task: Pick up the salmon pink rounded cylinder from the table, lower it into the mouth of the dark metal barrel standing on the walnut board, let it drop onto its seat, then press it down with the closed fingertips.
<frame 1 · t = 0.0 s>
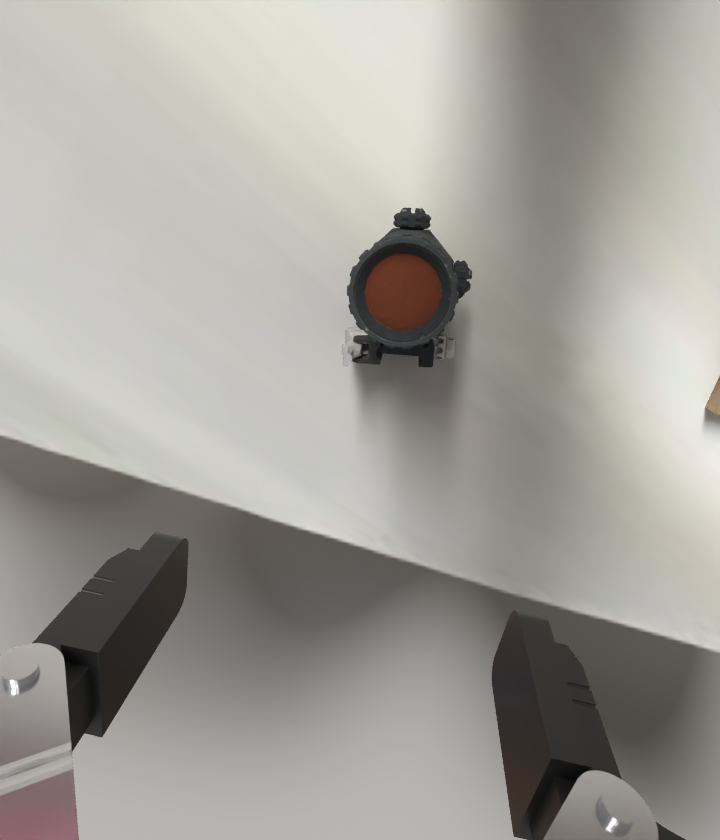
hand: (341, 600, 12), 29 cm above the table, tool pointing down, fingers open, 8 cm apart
scope: (407, 281, 38), on the table
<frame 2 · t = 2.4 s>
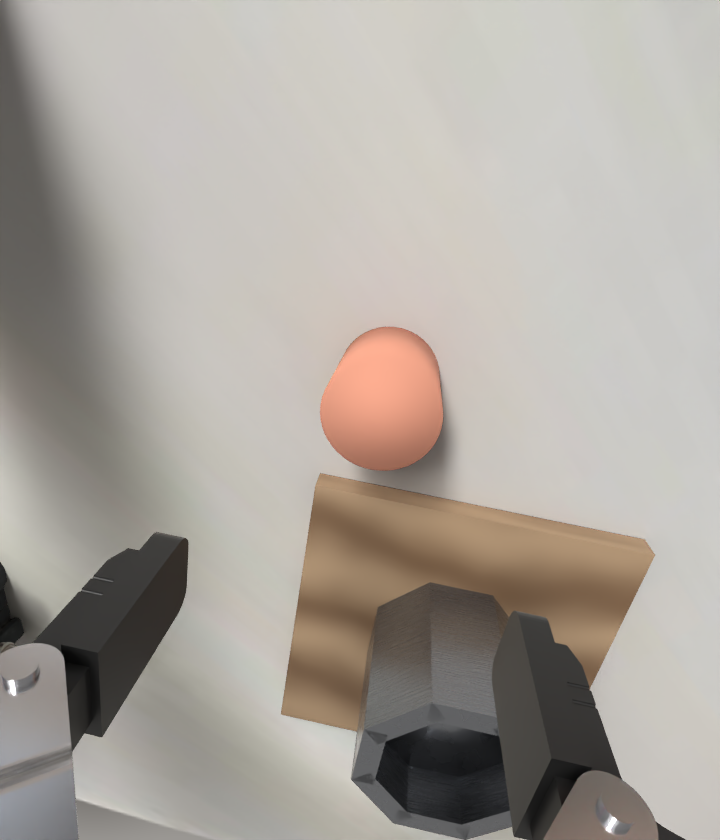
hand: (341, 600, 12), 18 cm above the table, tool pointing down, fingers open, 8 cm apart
walnut board: (443, 627, 35), on the table
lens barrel: (446, 702, 30), on the walnut board, point 6 cm above the table
salmon pink rounded cylinder: (389, 376, 29), on the table
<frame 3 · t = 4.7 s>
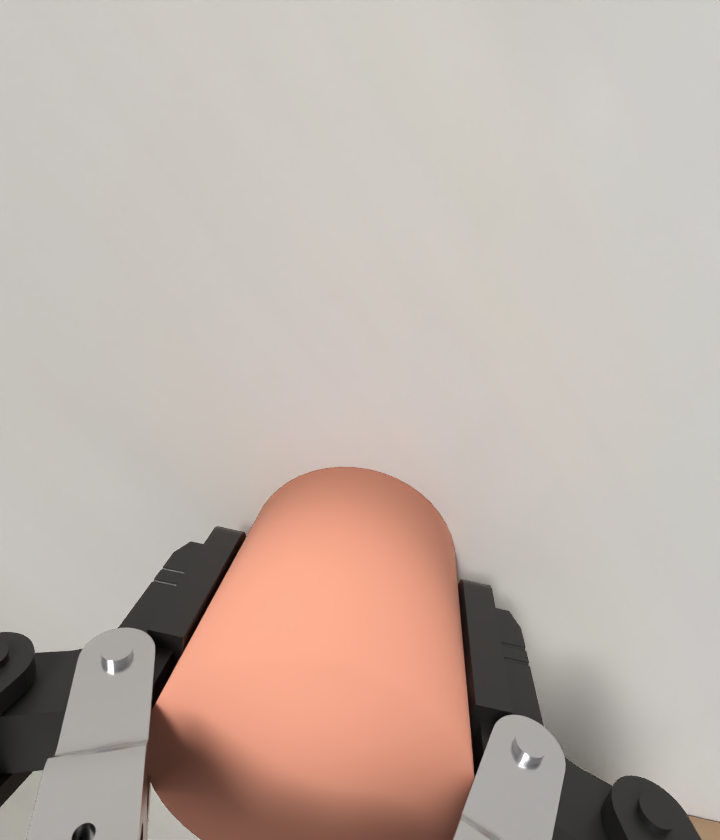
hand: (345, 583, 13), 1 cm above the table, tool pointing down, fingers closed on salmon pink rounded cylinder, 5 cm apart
salmon pink rounded cylinder: (351, 558, 14), on the table, touching gripper
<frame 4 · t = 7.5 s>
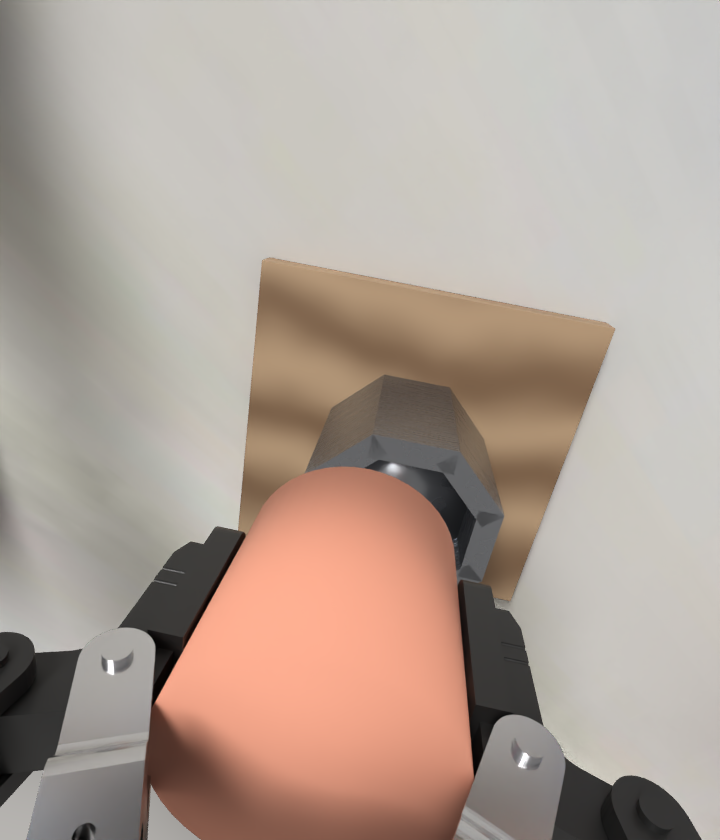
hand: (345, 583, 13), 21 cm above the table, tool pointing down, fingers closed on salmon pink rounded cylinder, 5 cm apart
walnut board: (401, 440, 34), on the table
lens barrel: (398, 484, 29), on the walnut board, point 6 cm above the table
salmon pink rounded cylinder: (351, 557, 14), point 19 cm above the table, touching gripper
when the fingers open (10 cm above the table, at t = 10.6 s): salmon pink rounded cylinder drops 2 cm, resting on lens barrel.
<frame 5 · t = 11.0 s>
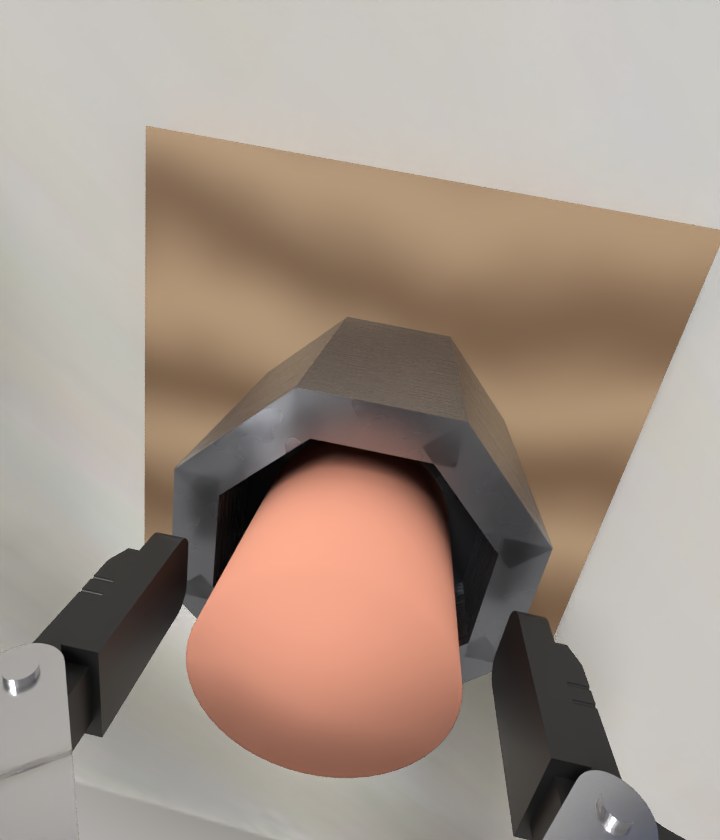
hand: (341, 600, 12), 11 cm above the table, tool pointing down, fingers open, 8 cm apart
walnut board: (379, 425, 23), on the table
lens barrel: (365, 490, 17), on the walnut board, point 6 cm above the table
salmon pink rounded cylinder: (356, 518, 16), point 8 cm above the table, touching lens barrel
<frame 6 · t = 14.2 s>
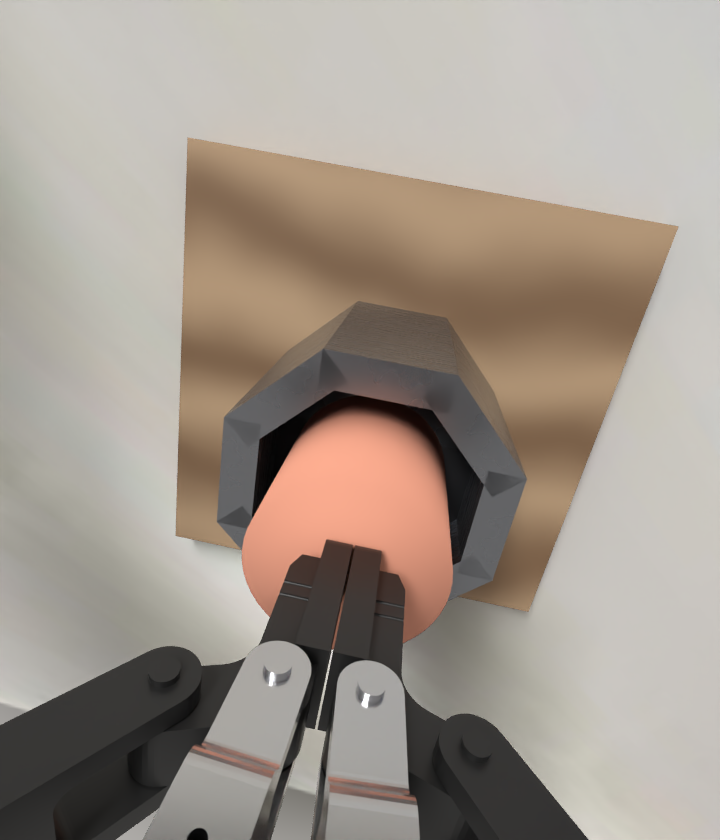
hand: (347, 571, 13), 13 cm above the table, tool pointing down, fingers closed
walnut board: (384, 398, 26), on the table
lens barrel: (374, 446, 21), on the walnut board, point 6 cm above the table
salmon pink rounded cylinder: (368, 466, 19), point 7 cm above the table, touching gripper, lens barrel
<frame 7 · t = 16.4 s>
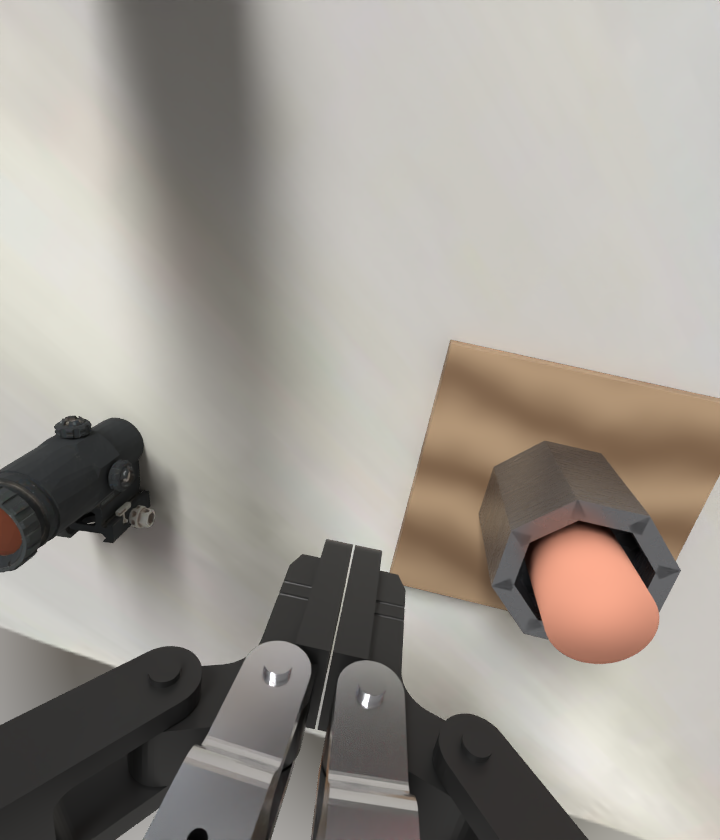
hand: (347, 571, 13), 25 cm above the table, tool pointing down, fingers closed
scope: (121, 451, 43), on the table
walnut board: (546, 495, 39), on the table
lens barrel: (564, 537, 34), on the walnut board, point 6 cm above the table
salmon pink rounded cylinder: (570, 553, 32), point 7 cm above the table, touching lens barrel
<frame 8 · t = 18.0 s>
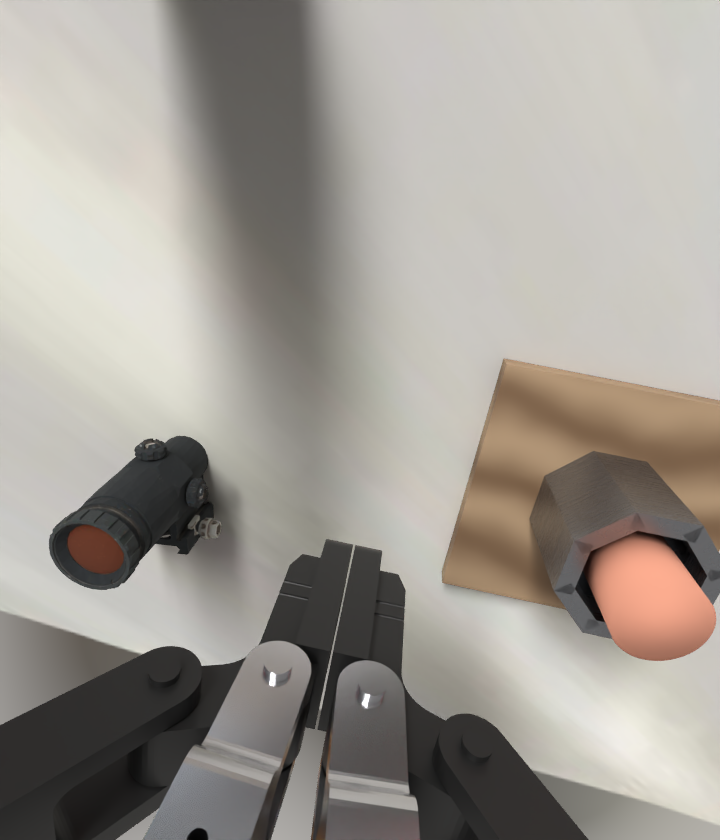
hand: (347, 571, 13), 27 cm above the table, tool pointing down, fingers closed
scope: (186, 467, 45), on the table
walnut board: (591, 500, 41), on the table
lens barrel: (616, 542, 36), on the walnut board, point 6 cm above the table
salmon pink rounded cylinder: (624, 557, 35), point 7 cm above the table, touching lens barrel
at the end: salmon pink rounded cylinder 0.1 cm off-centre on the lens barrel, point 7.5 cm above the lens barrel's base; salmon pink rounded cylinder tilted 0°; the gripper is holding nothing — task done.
